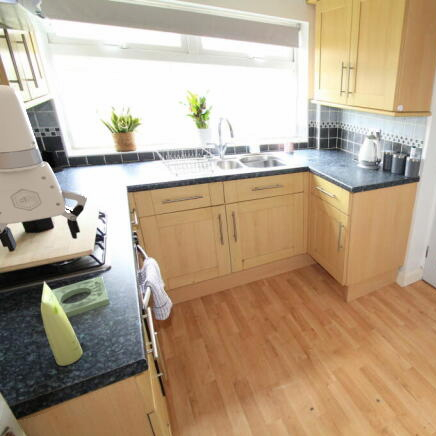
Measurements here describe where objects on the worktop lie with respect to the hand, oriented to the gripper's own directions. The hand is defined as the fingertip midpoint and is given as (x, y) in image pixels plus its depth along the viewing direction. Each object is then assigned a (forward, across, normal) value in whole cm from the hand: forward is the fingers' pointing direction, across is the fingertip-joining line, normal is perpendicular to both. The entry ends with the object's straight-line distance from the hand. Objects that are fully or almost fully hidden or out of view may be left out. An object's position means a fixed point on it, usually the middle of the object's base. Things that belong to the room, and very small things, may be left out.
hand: (45, 242), depth 64 cm
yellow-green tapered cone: (+30, -3, 0) cm, 30 cm away
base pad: (+30, -1, +22) cm, 37 cm away
